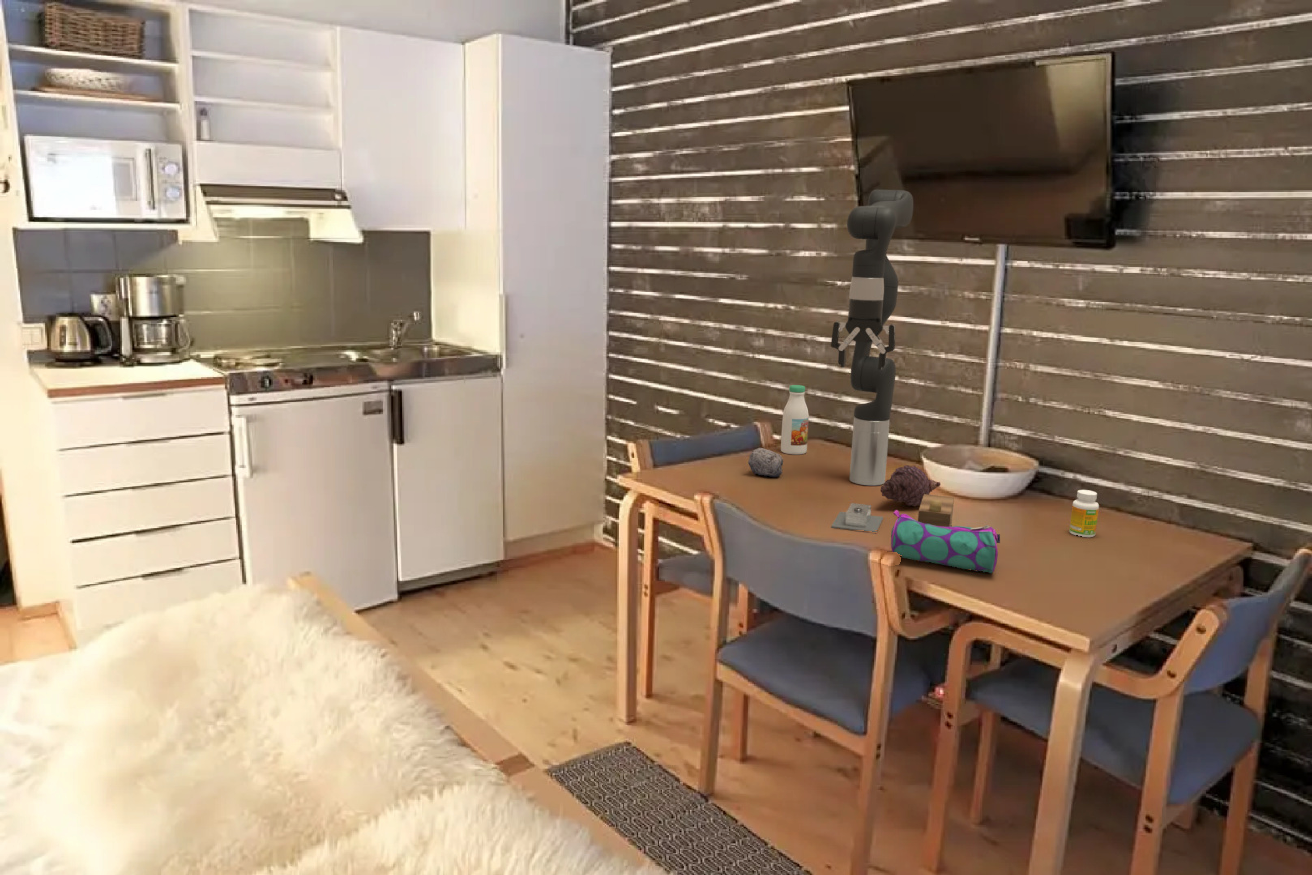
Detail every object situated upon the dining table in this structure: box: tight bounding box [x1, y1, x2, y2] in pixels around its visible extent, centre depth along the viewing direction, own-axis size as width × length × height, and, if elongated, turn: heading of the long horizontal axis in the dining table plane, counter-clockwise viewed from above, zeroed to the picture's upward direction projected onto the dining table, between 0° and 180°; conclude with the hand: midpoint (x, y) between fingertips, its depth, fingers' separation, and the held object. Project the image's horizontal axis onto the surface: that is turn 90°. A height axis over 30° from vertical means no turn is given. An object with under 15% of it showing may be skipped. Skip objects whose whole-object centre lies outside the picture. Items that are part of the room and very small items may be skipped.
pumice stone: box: [747, 447, 784, 478], centre depth 256 cm, size 10×8×10 cm
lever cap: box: [845, 502, 872, 528], centre depth 217 cm, size 8×4×3 cm, turn 160°
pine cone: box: [880, 464, 941, 507], centre depth 231 cm, size 18×10×10 cm, turn 118°
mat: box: [830, 511, 884, 533], centre depth 217 cm, size 12×10×1 cm
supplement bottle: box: [1068, 489, 1100, 538], centre depth 212 cm, size 5×5×10 cm
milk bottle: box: [780, 384, 810, 455], centre depth 282 cm, size 8×8×20 cm
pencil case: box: [890, 509, 1001, 574], centre depth 191 cm, size 21×9×10 cm, turn 67°
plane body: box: [917, 493, 955, 527], centre depth 208 cm, size 14×7×10 cm, turn 160°
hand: (861, 368), depth 220 cm, fingers open, 8 cm apart
